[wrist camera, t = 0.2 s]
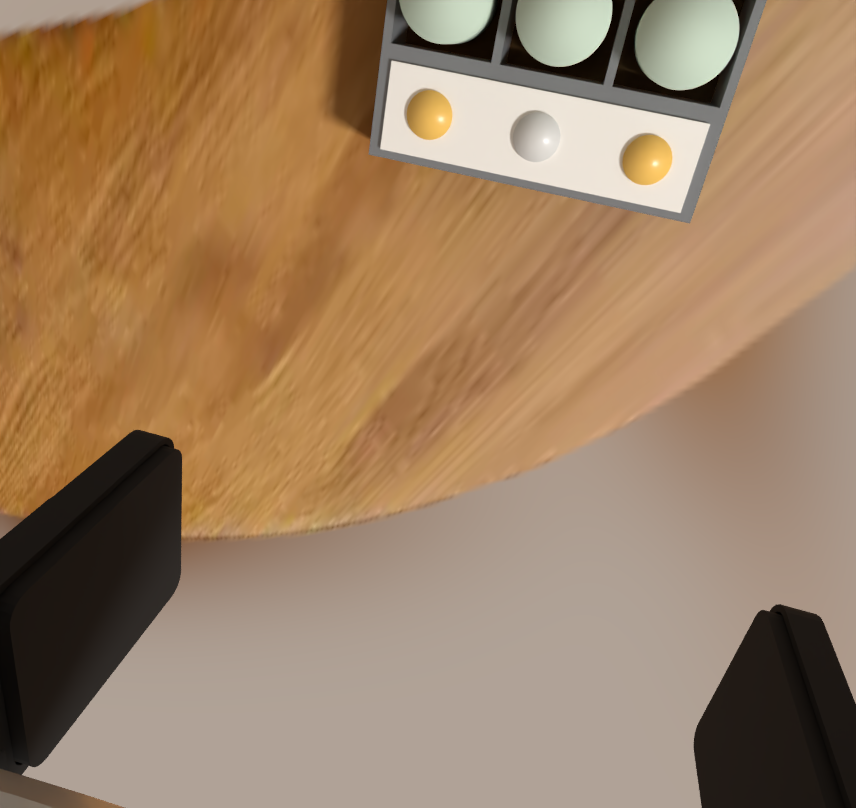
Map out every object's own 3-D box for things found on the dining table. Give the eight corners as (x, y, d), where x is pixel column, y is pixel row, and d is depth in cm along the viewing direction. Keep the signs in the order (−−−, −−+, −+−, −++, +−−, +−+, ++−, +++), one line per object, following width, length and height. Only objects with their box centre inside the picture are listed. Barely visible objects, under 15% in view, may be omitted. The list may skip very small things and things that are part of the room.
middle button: (533, -42, 32) (527, -50, 29) (622, -26, 32) (624, -33, 29) (513, 56, 34) (506, 57, 31) (597, 72, 33) (597, 74, 31)
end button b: (649, -22, 31) (654, -28, 29) (741, -5, 31) (754, -10, 28) (622, 77, 33) (624, 80, 31) (709, 94, 33) (718, 98, 30)
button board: (420, -126, 33) (402, -142, 30) (776, -65, 31) (794, -77, 28) (384, 146, 38) (366, 155, 35) (683, 210, 37) (690, 225, 34)
